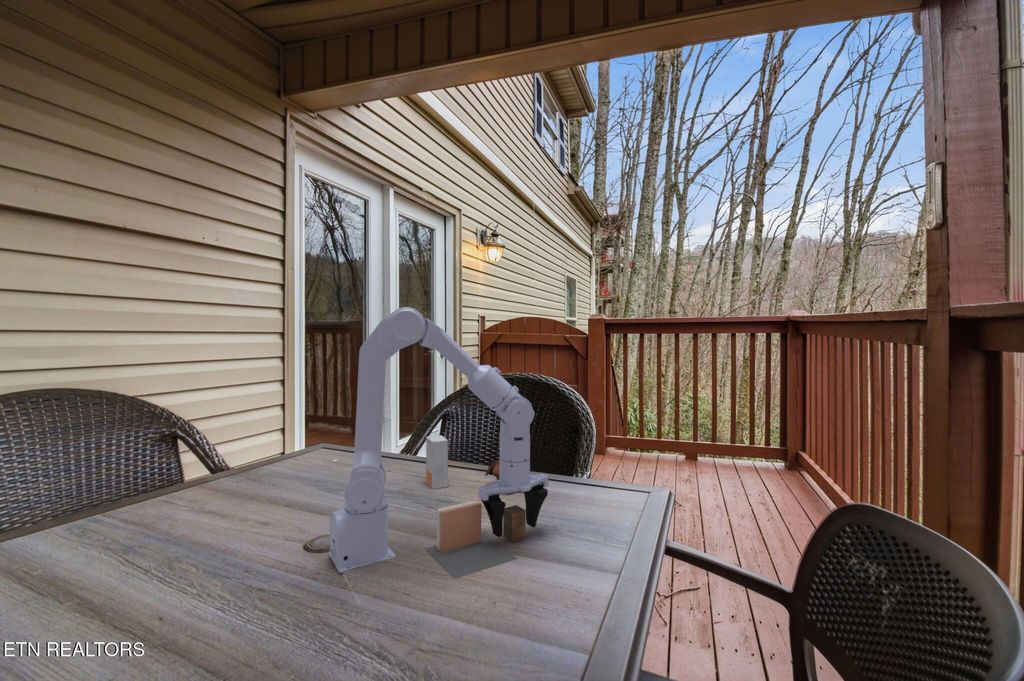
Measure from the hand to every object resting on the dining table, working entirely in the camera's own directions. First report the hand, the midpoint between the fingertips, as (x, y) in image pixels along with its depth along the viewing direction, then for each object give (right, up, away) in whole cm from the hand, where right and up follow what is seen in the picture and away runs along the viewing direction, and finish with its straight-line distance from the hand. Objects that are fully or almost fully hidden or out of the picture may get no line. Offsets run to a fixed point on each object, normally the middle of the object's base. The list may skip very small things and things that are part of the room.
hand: (514, 530), depth 88 cm
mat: (-8, -2, -6) cm, 10 cm away
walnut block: (0, -2, 0) cm, 2 cm away
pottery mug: (-2, -2, +29) cm, 29 cm away
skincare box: (-20, -1, +31) cm, 37 cm away
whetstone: (-10, -1, -3) cm, 11 cm away
